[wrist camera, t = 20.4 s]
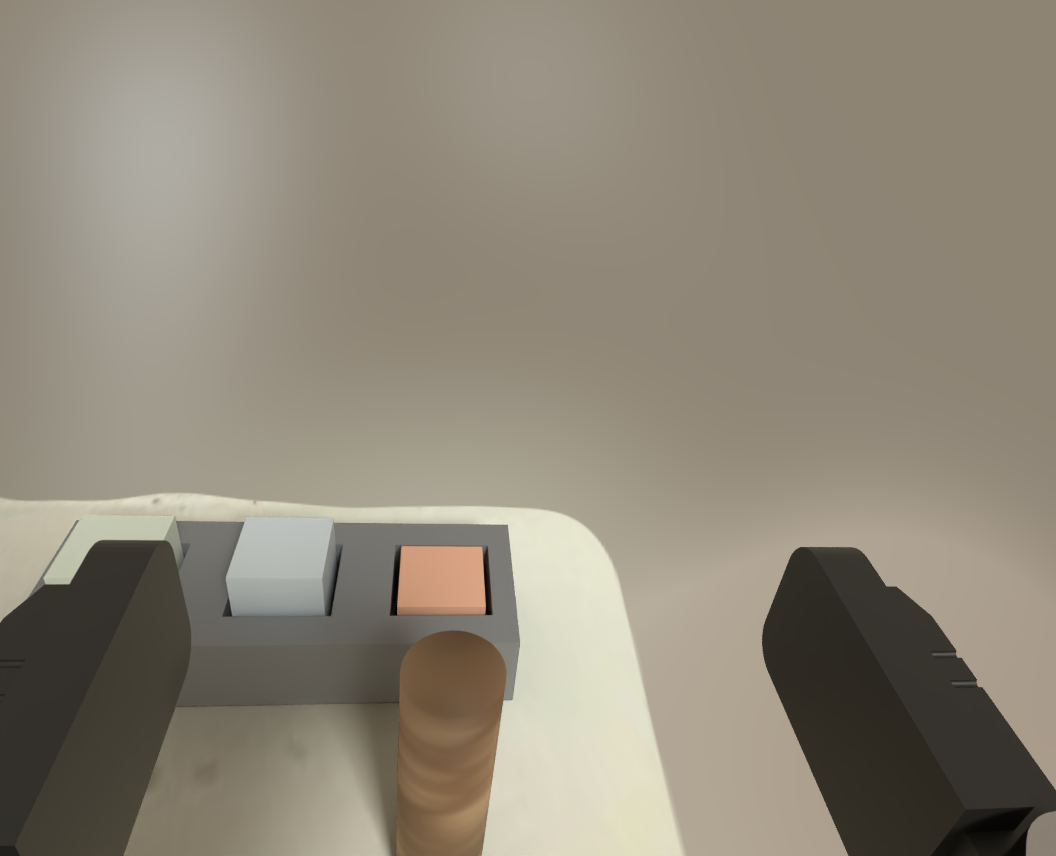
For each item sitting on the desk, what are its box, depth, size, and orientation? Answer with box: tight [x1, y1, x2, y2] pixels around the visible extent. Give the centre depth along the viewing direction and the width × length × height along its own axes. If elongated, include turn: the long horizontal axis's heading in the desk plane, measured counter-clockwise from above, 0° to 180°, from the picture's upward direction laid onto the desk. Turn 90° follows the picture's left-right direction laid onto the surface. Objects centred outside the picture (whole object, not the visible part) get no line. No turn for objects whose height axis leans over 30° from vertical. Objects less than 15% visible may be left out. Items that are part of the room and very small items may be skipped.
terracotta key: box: [397, 546, 486, 616], centre depth 45 cm, size 5×5×4 cm
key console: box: [28, 520, 520, 707], centre depth 44 cm, size 27×10×5 cm, turn 95°
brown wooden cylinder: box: [396, 630, 507, 856], centre depth 32 cm, size 4×4×14 cm
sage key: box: [43, 515, 184, 584], centre depth 42 cm, size 5×5×4 cm
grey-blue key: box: [226, 517, 337, 617], centre depth 43 cm, size 5×5×4 cm
